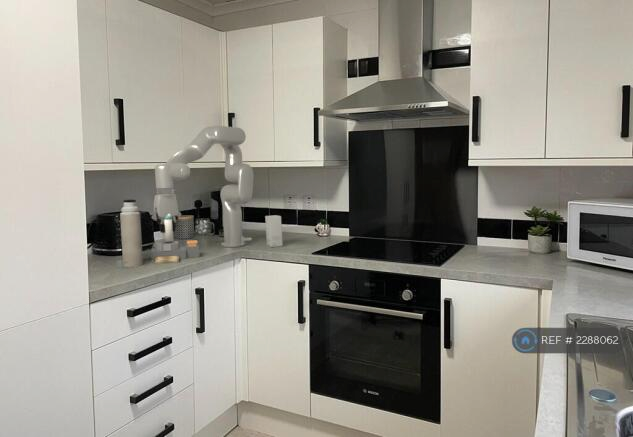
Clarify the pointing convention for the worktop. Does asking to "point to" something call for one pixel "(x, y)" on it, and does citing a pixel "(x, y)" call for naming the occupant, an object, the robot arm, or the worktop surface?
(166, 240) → the cylinder
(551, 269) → the worktop surface
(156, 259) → the tray
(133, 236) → the thermos bottle
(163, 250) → the housing
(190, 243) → the release button
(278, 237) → the skincare box
